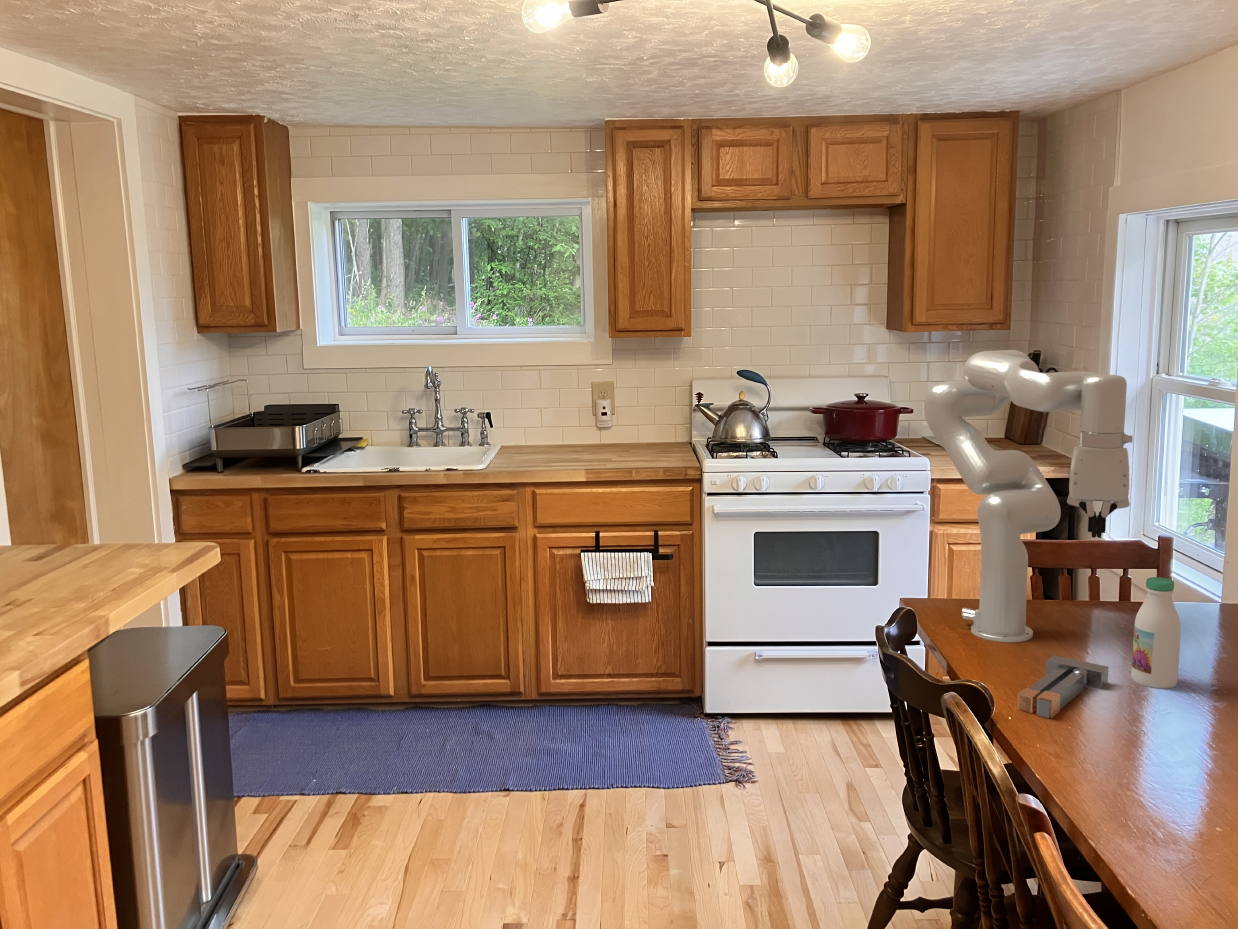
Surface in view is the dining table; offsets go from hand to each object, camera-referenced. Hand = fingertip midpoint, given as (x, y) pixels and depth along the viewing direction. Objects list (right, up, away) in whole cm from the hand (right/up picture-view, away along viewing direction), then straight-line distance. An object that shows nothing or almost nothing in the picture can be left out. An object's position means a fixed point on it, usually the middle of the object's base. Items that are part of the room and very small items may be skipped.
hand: (1096, 536), depth 191 cm
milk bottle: (+10, -28, -2) cm, 29 cm away
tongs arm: (-11, -29, -10) cm, 33 cm away
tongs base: (-10, -29, -7) cm, 31 cm away
